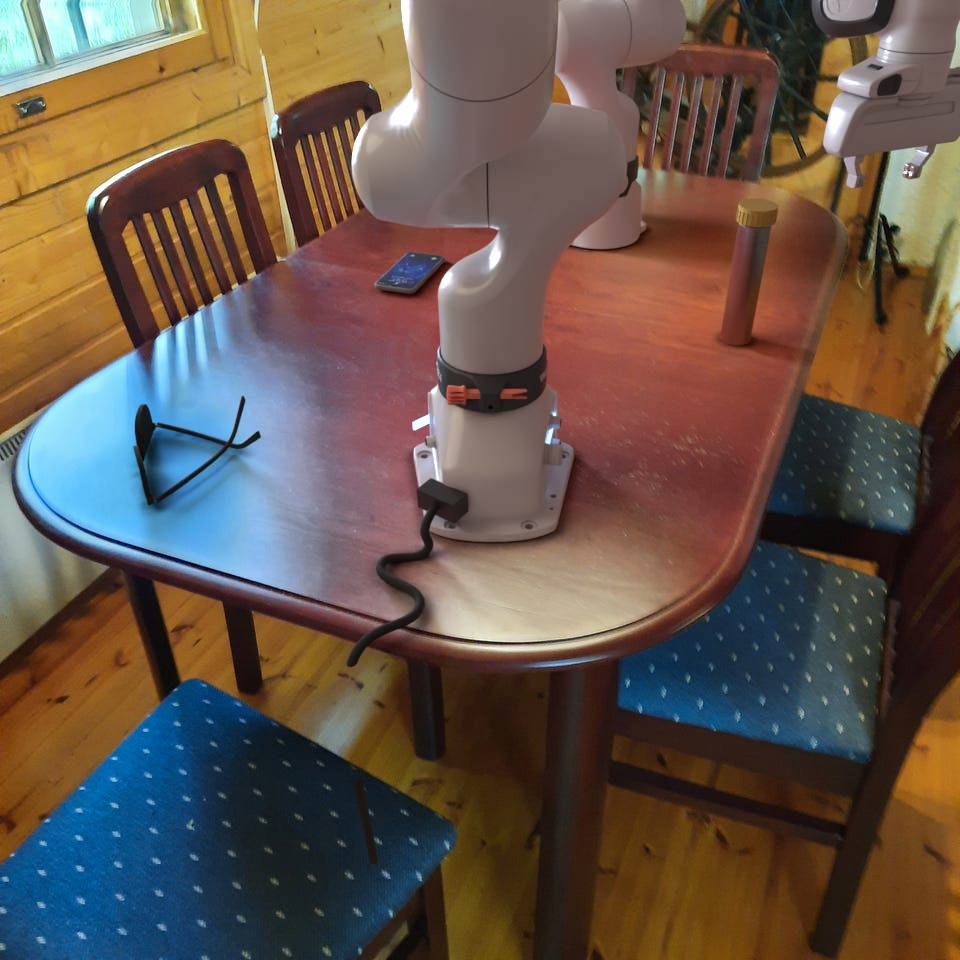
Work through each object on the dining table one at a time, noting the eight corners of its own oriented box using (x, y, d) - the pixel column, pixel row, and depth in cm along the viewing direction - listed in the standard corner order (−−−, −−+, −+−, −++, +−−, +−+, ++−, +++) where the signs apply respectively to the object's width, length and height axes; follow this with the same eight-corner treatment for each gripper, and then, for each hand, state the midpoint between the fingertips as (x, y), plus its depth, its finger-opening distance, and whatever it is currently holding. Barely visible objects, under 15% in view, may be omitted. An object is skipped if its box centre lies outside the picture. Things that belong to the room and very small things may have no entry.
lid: (729, 223, 112) (731, 206, 111) (744, 211, 116) (747, 195, 114) (766, 230, 110) (769, 214, 109) (781, 219, 113) (784, 202, 112)
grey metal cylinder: (715, 340, 123) (735, 209, 111) (727, 329, 125) (748, 200, 114) (743, 348, 121) (767, 215, 109) (754, 337, 123) (779, 206, 112)
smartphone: (447, 255, 148) (413, 290, 136) (447, 261, 148) (413, 296, 137) (407, 250, 150) (371, 284, 138) (407, 255, 150) (371, 290, 139)
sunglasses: (270, 486, 97) (262, 449, 94) (137, 510, 94) (125, 474, 91) (257, 411, 110) (250, 377, 107) (140, 430, 107) (130, 396, 104)
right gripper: (956, 60, 114) (926, 166, 122) (828, 75, 109) (806, 185, 117) (993, 69, 109) (960, 178, 118) (861, 85, 104) (836, 198, 112)
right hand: (882, 182), depth 117 cm, fingers open, 8 cm apart
